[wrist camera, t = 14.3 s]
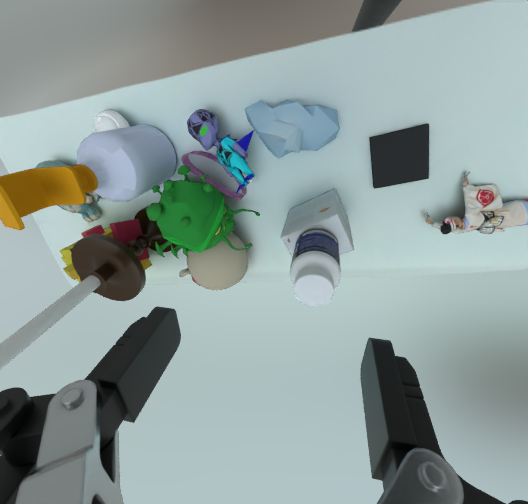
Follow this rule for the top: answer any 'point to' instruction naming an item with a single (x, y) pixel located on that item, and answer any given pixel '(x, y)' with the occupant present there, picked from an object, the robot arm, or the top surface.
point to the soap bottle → (92, 173)
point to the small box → (319, 221)
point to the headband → (209, 180)
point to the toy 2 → (218, 264)
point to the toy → (117, 230)
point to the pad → (400, 156)
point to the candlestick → (94, 279)
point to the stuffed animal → (84, 209)
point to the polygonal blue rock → (293, 126)
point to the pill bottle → (315, 266)
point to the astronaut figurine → (109, 121)
